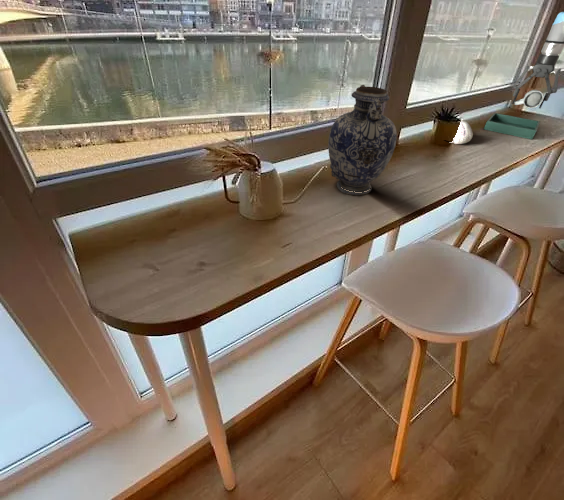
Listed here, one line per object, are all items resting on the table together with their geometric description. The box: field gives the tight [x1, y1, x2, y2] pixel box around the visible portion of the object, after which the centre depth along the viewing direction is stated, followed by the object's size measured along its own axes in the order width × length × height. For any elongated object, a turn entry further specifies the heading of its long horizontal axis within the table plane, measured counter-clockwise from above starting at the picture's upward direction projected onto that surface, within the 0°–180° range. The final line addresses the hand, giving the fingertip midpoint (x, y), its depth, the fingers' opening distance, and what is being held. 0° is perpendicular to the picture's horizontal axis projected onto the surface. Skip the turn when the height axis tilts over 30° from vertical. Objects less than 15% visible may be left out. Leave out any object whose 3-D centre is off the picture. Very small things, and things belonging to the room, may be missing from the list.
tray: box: [483, 112, 541, 140], centre depth 150 cm, size 20×18×4 cm
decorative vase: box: [327, 84, 398, 196], centre depth 92 cm, size 21×19×28 cm
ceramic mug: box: [513, 89, 545, 109], centre depth 158 cm, size 11×8×8 cm
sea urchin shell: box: [450, 119, 474, 145], centre depth 135 cm, size 13×14×8 cm
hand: (526, 105), depth 160 cm, fingers closed on ceramic mug, 11 cm apart
